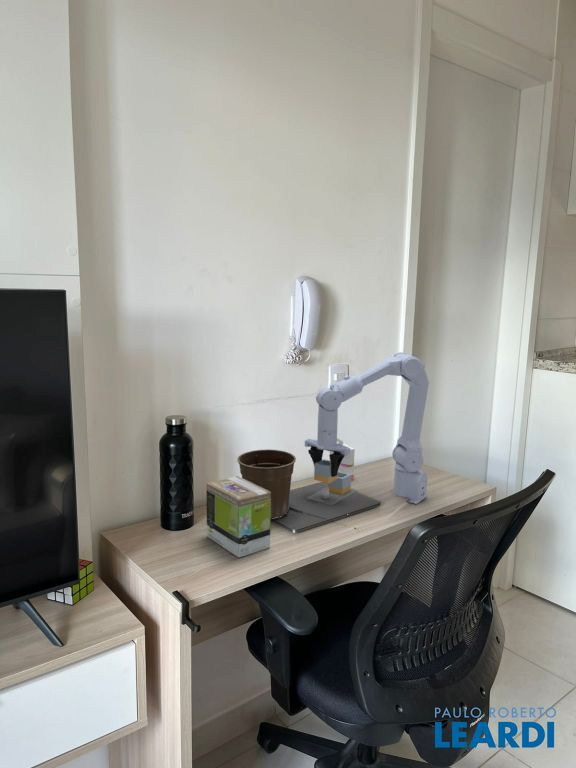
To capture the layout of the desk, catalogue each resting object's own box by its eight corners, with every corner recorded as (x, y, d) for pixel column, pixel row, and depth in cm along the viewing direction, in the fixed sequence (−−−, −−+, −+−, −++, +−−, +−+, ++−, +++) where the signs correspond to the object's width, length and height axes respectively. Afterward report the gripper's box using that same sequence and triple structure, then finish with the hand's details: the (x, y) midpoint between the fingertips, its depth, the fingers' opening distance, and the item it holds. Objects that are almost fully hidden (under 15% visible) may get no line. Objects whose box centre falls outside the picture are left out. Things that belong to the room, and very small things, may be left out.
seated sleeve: (350, 489, 179) (351, 474, 178) (342, 494, 175) (342, 478, 174) (336, 486, 182) (337, 471, 181) (328, 490, 178) (328, 475, 177)
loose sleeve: (337, 478, 172) (338, 462, 171) (328, 483, 168) (328, 466, 167) (323, 475, 175) (323, 459, 174) (314, 479, 171) (314, 463, 170)
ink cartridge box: (354, 483, 188) (356, 439, 186) (341, 485, 186) (342, 441, 183) (341, 475, 196) (342, 433, 193) (328, 477, 194) (329, 434, 191)
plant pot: (247, 528, 154) (247, 470, 151) (230, 505, 169) (230, 452, 166) (303, 519, 160) (305, 463, 157) (282, 498, 175) (283, 447, 172)
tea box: (271, 547, 143) (272, 491, 140) (237, 559, 137) (237, 500, 134) (237, 526, 154) (238, 474, 152) (205, 536, 148) (204, 481, 146)
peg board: (357, 494, 179) (358, 481, 178) (331, 509, 167) (332, 495, 166) (332, 487, 184) (333, 474, 183) (306, 501, 172) (306, 488, 171)
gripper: (299, 427, 169) (298, 472, 172) (341, 436, 161) (340, 483, 163) (312, 423, 175) (311, 466, 177) (354, 431, 167) (352, 476, 169)
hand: (326, 473), depth 171 cm, fingers closed on loose sleeve, 5 cm apart
